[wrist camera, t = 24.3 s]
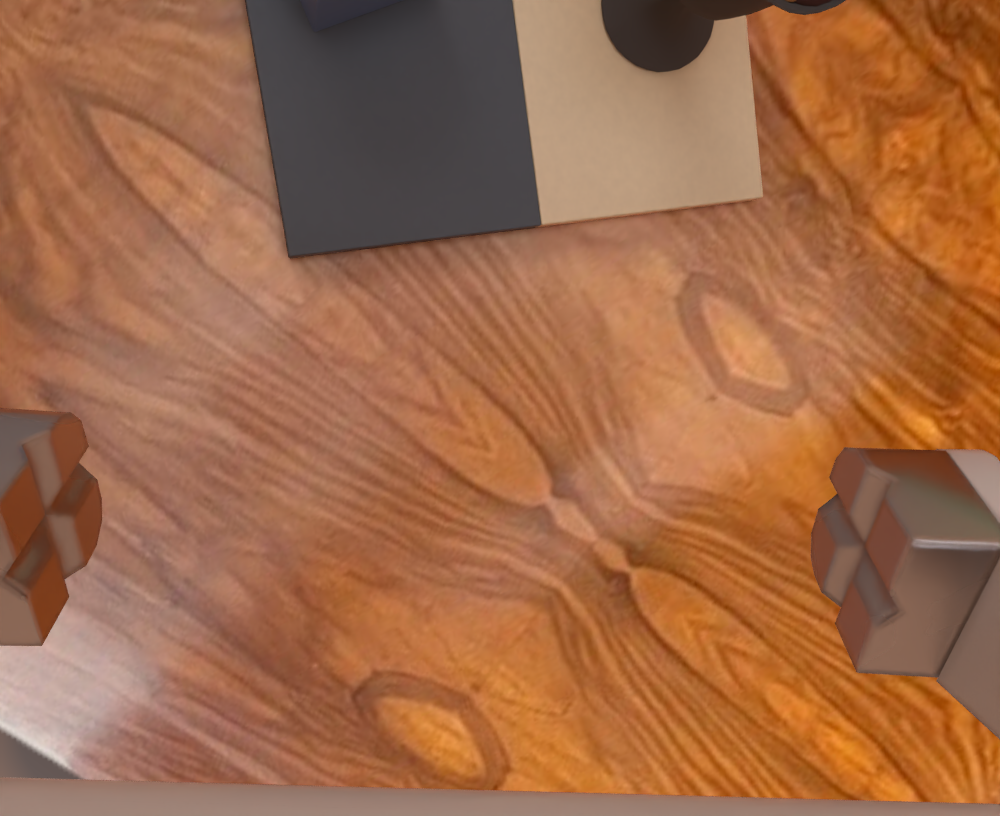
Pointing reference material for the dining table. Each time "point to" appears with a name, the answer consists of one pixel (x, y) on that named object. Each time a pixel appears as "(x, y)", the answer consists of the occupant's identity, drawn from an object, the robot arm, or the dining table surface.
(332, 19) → the blue block
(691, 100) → the board
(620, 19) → the sundae
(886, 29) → the dining table surface
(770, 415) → the dining table surface
